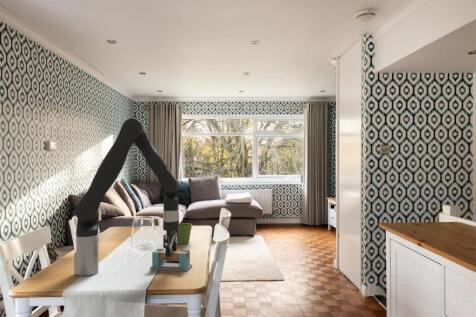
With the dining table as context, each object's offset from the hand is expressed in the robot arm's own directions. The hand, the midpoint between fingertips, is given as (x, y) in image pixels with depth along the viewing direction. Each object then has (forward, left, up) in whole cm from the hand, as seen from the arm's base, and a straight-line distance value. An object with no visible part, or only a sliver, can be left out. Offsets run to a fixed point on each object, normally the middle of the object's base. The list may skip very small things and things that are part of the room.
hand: (171, 253), depth 171 cm
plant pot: (-10, +48, -7) cm, 49 cm away
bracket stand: (0, 0, -7) cm, 7 cm away
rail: (0, 0, -3) cm, 3 cm away
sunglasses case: (-4, +15, -7) cm, 17 cm away
